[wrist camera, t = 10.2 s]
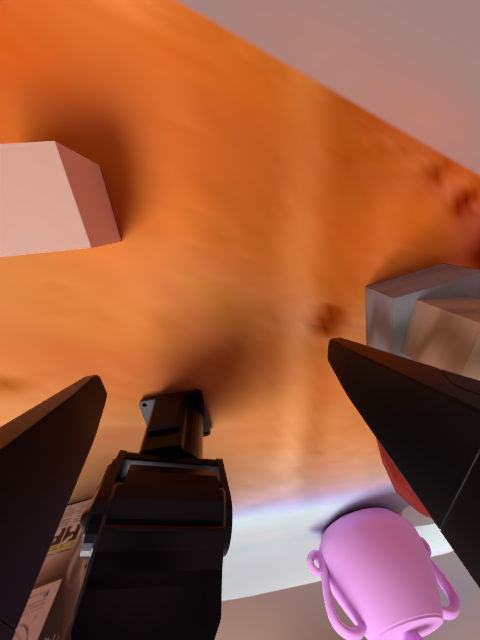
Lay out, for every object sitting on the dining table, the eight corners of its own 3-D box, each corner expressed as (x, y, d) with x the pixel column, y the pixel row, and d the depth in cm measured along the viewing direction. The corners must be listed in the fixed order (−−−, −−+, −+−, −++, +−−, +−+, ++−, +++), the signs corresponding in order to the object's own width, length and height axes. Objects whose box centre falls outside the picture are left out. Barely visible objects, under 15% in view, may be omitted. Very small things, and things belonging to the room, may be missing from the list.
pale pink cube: (121, 241, 17) (91, 247, 13) (54, 248, 17) (-3, 257, 12) (99, 165, 15) (54, 140, 11) (22, 170, 15) (-59, 147, 10)
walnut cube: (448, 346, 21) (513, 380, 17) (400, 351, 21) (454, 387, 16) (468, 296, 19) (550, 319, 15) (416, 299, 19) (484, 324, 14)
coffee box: (47, 510, 28) (-127, 820, 14) (96, 495, 28) (-23, 787, 14) (85, 543, 32) (-19, 814, 17) (128, 530, 32) (62, 788, 18)
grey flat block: (431, 331, 25) (469, 349, 22) (364, 352, 25) (391, 373, 22) (440, 262, 22) (486, 270, 18) (363, 286, 22) (394, 298, 18)
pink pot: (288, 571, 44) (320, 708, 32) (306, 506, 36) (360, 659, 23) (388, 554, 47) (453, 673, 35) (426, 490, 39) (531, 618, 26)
